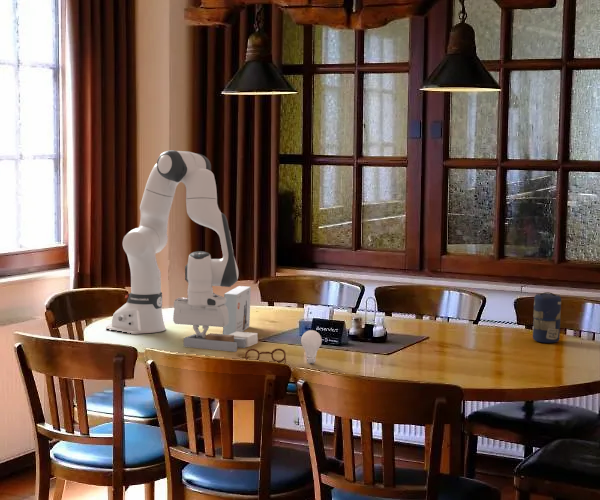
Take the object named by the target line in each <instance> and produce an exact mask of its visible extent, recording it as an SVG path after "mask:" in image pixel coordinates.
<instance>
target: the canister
mask: <svg viewBox="0 0 600 500" xmlns="http://www.w3.org/2000/svg"><path fill="white" fill-rule="evenodd" d="M533 299H534V300H533V314H532V316H533V324H532V325H533V326H532V340H534V341H536V342H537V343H538V342H540V343H547V344H551V343H552V344H553V343H554V344H555V343H558V342H559V341H560V338H561V337H560V333H561V332H560V331H561V312H562V311H561V310H562V297H561V296H560V295H559V294H555V293H553V292H548V291H546V292H545V291H544V292H541V293H537V294H535V295H534V297H533Z"/></svg>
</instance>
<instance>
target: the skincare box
mask: <svg viewBox="0 0 600 500" xmlns="http://www.w3.org/2000/svg"><path fill="white" fill-rule="evenodd" d="M251 292H252V286H246V285H245V286H244V285H238V286H236V287H234V288H233V289H230V290H229V291H226V292H225V293H224V294H223V297H224V298H226V303H225V304H224V305H226V306H227V309H228V315H229V323H228V325H227V326H225V327H222V334H225V335H229V334H232V333H234V332H237V331H239V332H245V330H247V329H249V328H250V324H251V323H250V321H251V320H250V318H251V317H250V316H251V297H252V296H251V295H252V293H251Z"/></svg>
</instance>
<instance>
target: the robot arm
mask: <svg viewBox="0 0 600 500" xmlns="http://www.w3.org/2000/svg"><path fill="white" fill-rule="evenodd" d="M180 183H182V184H183V185H184V186H185V205H186V206H185V207H186V213H187V216H188V217H189V219H191V220H192V221H193V223H196V224H198V225H200V226H203V227H206V228H209V229H211V230H213V231H215V232H216V233H217V235H218V237H219V241H220V245H221V246H220V247H221V251H222V258H212V256H211V254H210V253H209V252H206V251H201V250H200V251H199V250H198V251H193V252H191V253H190V254H188V259H187V263H186V264H185V266H184V275H185V276H184V278H185V279H184V280H185V281H186V282H187V284H188V286H187V290H186V291H187V292H186V293H187V297H177V298H176V299H174V301H173V315H172V316H173V318H172V319H173V320H172V321H173V323H174V324H175V325H190V326H192V329H193V331H194V333H195V334H196V338H205V335H207V332H208V330H209V328H210V327H216V328H217V327H218V328H219V327H220V328H223V327H225V326H227V325H228V323H229V315H228V309H227V306H226V305H224V304H225V303H226V298H224V296H222V295H219V294H217V293H215V292H214V288H213V287H222V288H223V287H226V288H231V287H232V286H233V285H235V284H236V283H237V282H238V279H239V274H240V273H239V268H238V265H237V261H236V258H235V254H234V249H233V243H232V241H233V240H232V236H231V231H230V227H229V223H228V218H227V216H226V214H224V213H223V212H221V209H220V207H219V204H218V193H217V184H216V179H215V174H214V173H213V172H212V164H211V161H210V160H209V158H208V157H206V156H205V155H203V154H201V153H195V152H192V151H187V150H185V151H184V150H183V151H182V150H174V149H172V150H166V151H163V152H162V153H160V155H159V156H158V157H157V159H156V163H155V164H154V166H153V167H152V169H151V171H150V173H149V176H148V178H147V181H146V183H145V188H144V191H143V194H142V196H141V197H142V199H141V202H140V204H139V211H140V221H139V225H138V227H135V228H133V229H131V230H130V231H128V232H127V233H126V234H125V235H124V236H123V239H122V248H123V251H124V252H125V254H126V256H127V261H128V264H129V269H130V270H129V271H130V291H131V292H129V293H127V294H125V295H124V296H125V297H124V299H126V303H124V304H123V305H122V306H121V307H119V308H118V309H117V310H115V312H114V313H112V314H113V315H112V320H111V323H110V324H108V325H106V326H105V330H106V329H111V330H117V331H122V332H121V333H123V332H127V333H126V334H130V333H131V335H138V334H151V333H153V334H154V333H161V332H163V331H166V330H167V329H166V325H165V321H164V315H163V310H162V309H163V308H162V307H163V292H162V275H161V274H162V271H161V269H160V267H159V266H158V263H157V262H158V261H157V257H156V254H159V253H161V251H162V250H164V248H166V246H167V244H168V237H169V236H168V222H169V216H170V213H171V208H172V206H173V205H172V204H173V202H174V198H175V194H176V189H177V187H178V185H179V184H180ZM201 326H202V329H203V330H202V332H201V331H200V329H199V328H200V327H201ZM111 330H110V331H111ZM117 331H116V332H117Z"/></svg>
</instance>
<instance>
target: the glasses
mask: <svg viewBox="0 0 600 500" xmlns="http://www.w3.org/2000/svg"><path fill="white" fill-rule="evenodd" d="M252 351H253V352H256V354H257V358H256V359H255V360H258V361H259V360H260V356H261V355H263V354H264V355H267V354H268V355H271V360H272V361H273V362H275V361H277V362H276V363H283V362H284V364H285V363H286V364H287V356H286V354H287V353H286V351H285V350H284V349H282V348H274V349H273V350H272V351H261V352H260V351H259V350H258V349H256V348H249V349H247V350H246V352H245V353H244V357H245V360H246V359H249V358H248V354H249V352H252ZM278 351H279V352H280V351H281V352H282V353H283V358H282V359H280V360H277V359H275V358H274V354H275V352H278Z"/></svg>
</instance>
